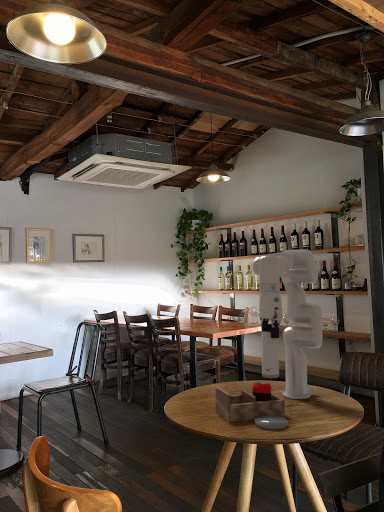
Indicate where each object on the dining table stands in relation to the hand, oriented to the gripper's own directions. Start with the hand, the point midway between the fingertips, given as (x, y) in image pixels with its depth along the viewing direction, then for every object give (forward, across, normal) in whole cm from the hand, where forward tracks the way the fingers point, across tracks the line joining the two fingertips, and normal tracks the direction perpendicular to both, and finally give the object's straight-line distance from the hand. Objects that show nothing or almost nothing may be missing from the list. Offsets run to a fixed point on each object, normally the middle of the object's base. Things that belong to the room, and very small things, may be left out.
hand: (270, 336), depth 161 cm
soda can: (+33, +14, -4) cm, 36 cm away
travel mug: (+15, 0, 0) cm, 15 cm away
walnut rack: (+32, +14, +2) cm, 35 cm away
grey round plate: (+32, 0, 0) cm, 32 cm away
